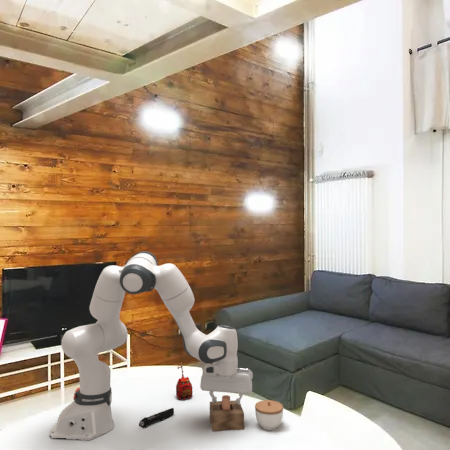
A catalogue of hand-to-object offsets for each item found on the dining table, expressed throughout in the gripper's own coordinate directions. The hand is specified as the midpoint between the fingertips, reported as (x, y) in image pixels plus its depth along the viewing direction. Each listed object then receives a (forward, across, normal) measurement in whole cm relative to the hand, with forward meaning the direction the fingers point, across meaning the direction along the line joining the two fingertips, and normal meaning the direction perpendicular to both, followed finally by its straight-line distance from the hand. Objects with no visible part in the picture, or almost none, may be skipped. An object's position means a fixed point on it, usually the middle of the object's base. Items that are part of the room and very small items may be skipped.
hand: (226, 403), depth 152 cm
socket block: (+8, 0, 0) cm, 8 cm away
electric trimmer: (+8, +27, +3) cm, 29 cm away
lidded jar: (+8, -17, 0) cm, 18 cm away
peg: (+8, 0, 0) cm, 8 cm away
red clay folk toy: (+8, +23, -21) cm, 32 cm away
